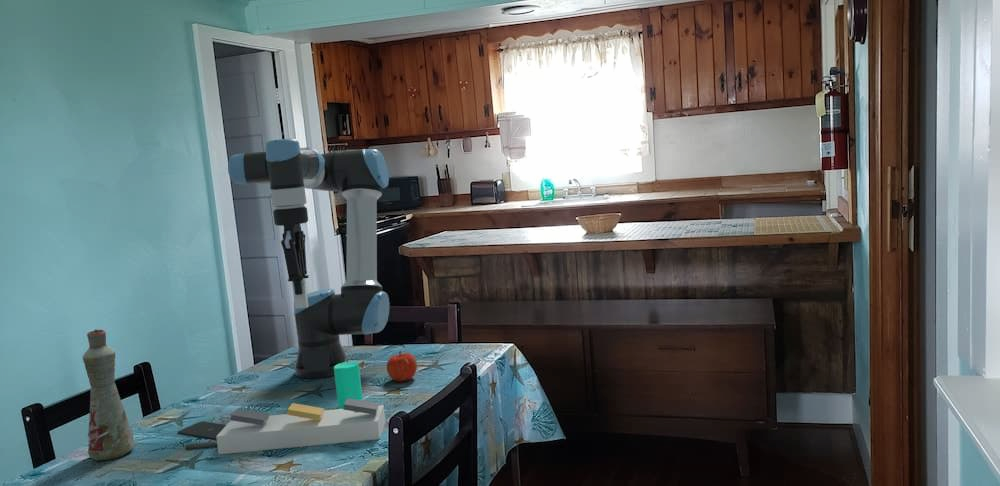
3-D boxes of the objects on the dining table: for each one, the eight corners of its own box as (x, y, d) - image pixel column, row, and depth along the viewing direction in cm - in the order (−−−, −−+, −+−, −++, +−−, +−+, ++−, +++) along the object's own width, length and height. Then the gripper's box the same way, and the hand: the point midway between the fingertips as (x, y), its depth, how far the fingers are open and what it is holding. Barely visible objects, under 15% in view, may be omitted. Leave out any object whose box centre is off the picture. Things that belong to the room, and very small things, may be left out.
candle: (357, 410, 171) (352, 362, 169) (334, 411, 172) (328, 362, 171) (367, 401, 177) (361, 354, 175) (344, 402, 178) (339, 355, 176)
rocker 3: (346, 403, 157) (347, 398, 157) (378, 408, 157) (378, 403, 157) (343, 409, 153) (344, 404, 153) (375, 414, 153) (376, 409, 153)
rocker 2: (291, 408, 156) (292, 403, 156) (323, 413, 157) (324, 408, 157) (286, 414, 152) (287, 409, 152) (319, 420, 153) (320, 415, 153)
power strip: (194, 440, 160) (191, 422, 160) (385, 421, 162) (383, 404, 161) (175, 458, 150) (172, 439, 150) (379, 439, 152) (377, 420, 151)
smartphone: (201, 419, 172) (245, 426, 165) (201, 423, 172) (246, 430, 165) (174, 431, 166) (219, 438, 159) (175, 435, 166) (220, 442, 159)
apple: (423, 379, 191) (420, 350, 190) (396, 386, 187) (393, 357, 186) (409, 373, 198) (406, 345, 197) (383, 380, 193) (380, 351, 193)
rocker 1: (236, 413, 156) (237, 408, 156) (268, 418, 156) (269, 413, 156) (230, 420, 152) (231, 414, 152) (263, 425, 152) (264, 420, 152)
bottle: (131, 457, 153) (112, 330, 150) (84, 466, 151) (64, 336, 147) (139, 443, 161) (121, 322, 158) (95, 451, 159) (75, 328, 156)
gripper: (280, 206, 170) (292, 303, 173) (265, 210, 157) (278, 315, 160) (312, 203, 171) (323, 300, 173) (299, 207, 158) (311, 312, 161)
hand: (301, 307), depth 167 cm, fingers closed
